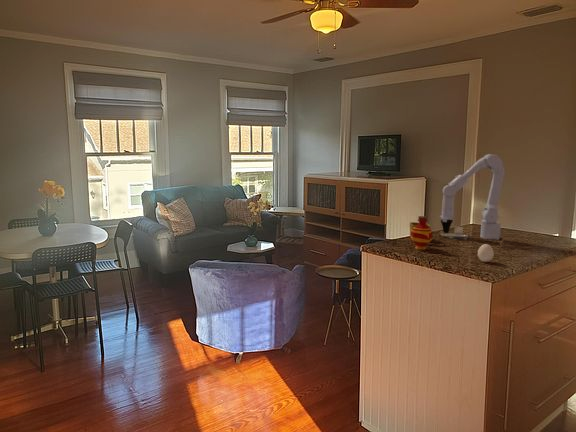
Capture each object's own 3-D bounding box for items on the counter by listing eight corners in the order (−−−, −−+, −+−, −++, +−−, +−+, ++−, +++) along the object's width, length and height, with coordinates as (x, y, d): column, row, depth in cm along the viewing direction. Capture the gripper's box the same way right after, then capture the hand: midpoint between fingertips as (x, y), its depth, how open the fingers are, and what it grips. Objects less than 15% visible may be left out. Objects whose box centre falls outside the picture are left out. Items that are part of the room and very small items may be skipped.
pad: (452, 234, 240) (452, 234, 240) (451, 236, 235) (451, 236, 235) (442, 233, 242) (442, 233, 242) (441, 235, 238) (441, 235, 237)
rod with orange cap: (468, 236, 228) (468, 233, 228) (467, 237, 226) (467, 234, 226) (440, 233, 235) (440, 230, 234) (439, 234, 233) (439, 231, 232)
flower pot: (425, 239, 230) (427, 222, 229) (429, 243, 222) (430, 225, 220) (408, 239, 231) (409, 222, 230) (411, 242, 223) (412, 225, 221)
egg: (474, 261, 190) (475, 243, 188) (483, 259, 193) (484, 242, 191) (486, 264, 184) (488, 246, 183) (495, 262, 188) (497, 244, 186)
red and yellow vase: (432, 246, 215) (434, 215, 212) (431, 251, 205) (433, 219, 203) (409, 244, 218) (411, 214, 216) (408, 249, 209) (410, 217, 206)
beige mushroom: (464, 237, 234) (465, 226, 233) (463, 239, 229) (464, 228, 228) (452, 235, 237) (453, 225, 236) (450, 237, 231) (451, 227, 231)
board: (470, 238, 236) (471, 234, 236) (465, 245, 219) (466, 241, 219) (443, 235, 243) (443, 231, 243) (436, 242, 225) (436, 237, 225)
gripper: (442, 205, 244) (440, 230, 246) (437, 209, 231) (435, 234, 234) (455, 207, 241) (454, 231, 243) (451, 210, 228) (449, 236, 230)
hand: (445, 233), depth 238 cm, fingers closed
